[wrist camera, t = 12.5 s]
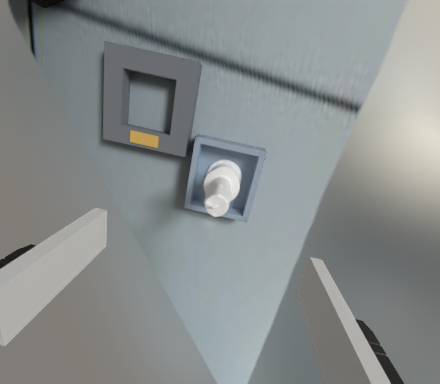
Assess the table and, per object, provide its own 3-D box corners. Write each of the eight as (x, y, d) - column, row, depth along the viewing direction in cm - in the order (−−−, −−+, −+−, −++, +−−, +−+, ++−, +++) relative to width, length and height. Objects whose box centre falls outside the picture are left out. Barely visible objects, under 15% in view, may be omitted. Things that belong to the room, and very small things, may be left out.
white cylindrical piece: (202, 186, 33) (182, 222, 21) (212, 154, 31) (197, 174, 20) (234, 198, 33) (232, 240, 22) (247, 166, 31) (252, 193, 20)
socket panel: (113, 46, 28) (103, 40, 26) (202, 65, 28) (198, 61, 26) (110, 137, 32) (102, 138, 30) (188, 154, 32) (184, 157, 30)
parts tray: (199, 134, 31) (195, 136, 28) (264, 148, 31) (266, 152, 28) (188, 200, 34) (183, 207, 31) (246, 213, 34) (246, 222, 31)
